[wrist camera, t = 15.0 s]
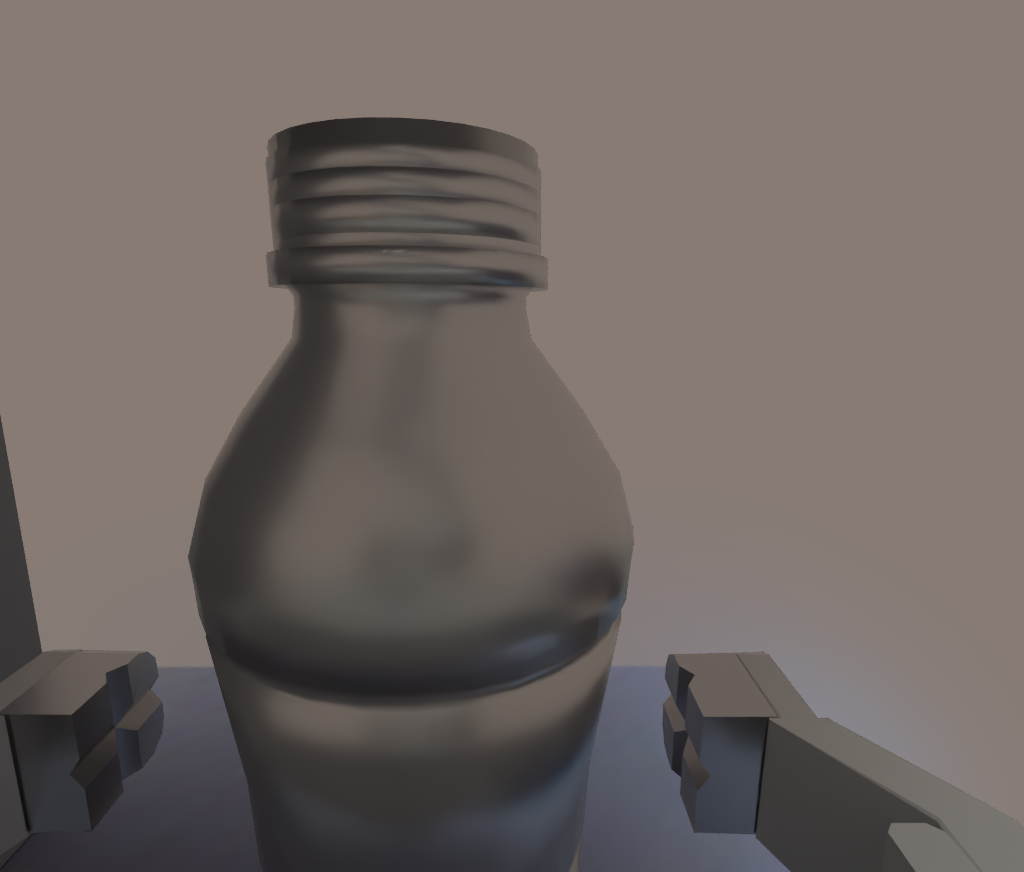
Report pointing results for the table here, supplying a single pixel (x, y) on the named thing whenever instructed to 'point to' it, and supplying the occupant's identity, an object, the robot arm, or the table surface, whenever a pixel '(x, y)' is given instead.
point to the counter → (13, 593)
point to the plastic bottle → (411, 521)
